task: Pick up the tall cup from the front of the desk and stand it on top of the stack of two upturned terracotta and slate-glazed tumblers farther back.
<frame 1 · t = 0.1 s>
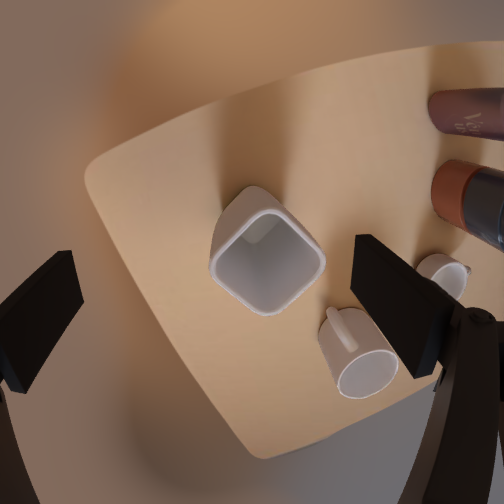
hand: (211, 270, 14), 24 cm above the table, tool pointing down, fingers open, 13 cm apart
tumbler stack: (454, 191, 38), on the table
beverage can: (442, 111, 34), on the table
teacup: (432, 268, 43), on the table
mug: (338, 321, 44), on the table
cup: (252, 214, 38), on the table
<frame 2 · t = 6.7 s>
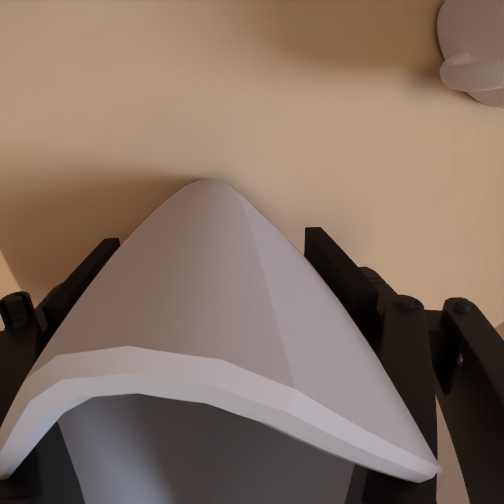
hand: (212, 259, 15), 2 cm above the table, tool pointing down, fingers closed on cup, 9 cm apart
mug: (461, 57, 14), on the table
cup: (213, 241, 18), on the table, touching gripper
when the fingers open (17 cm above the table, at t = 16.6 s): cup stays where it is, resting on tumbler stack.
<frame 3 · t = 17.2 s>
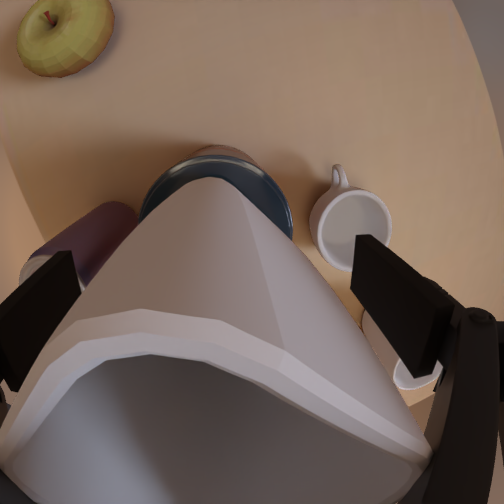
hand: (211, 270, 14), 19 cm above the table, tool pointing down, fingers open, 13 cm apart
tumbler stack: (218, 191, 31), on the table
beverage can: (116, 227, 32), on the table
teacup: (334, 206, 33), on the table
apple: (81, 39, 24), on the table
mug: (376, 320, 39), on the table
cup: (214, 238, 18), point 14 cm above the table, touching tumbler stack
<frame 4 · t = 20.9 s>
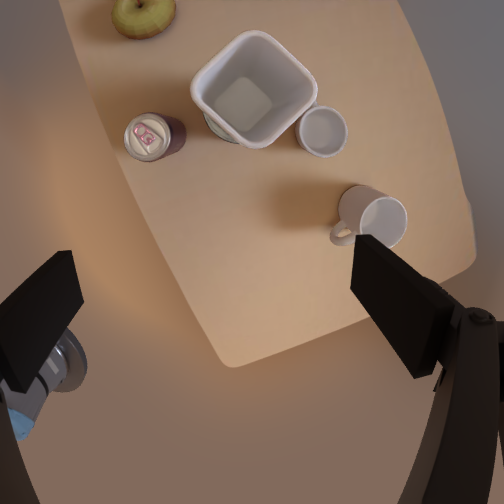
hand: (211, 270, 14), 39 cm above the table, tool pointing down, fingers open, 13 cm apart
beverage can: (168, 135, 47), on the table
teacup: (312, 125, 49), on the table
apple: (149, 19, 40), on the table
mug: (349, 212, 55), on the table
cup: (242, 105, 34), point 14 cm above the table, touching tumbler stack
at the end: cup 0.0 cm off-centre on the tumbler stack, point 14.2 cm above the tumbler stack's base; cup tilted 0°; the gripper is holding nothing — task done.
